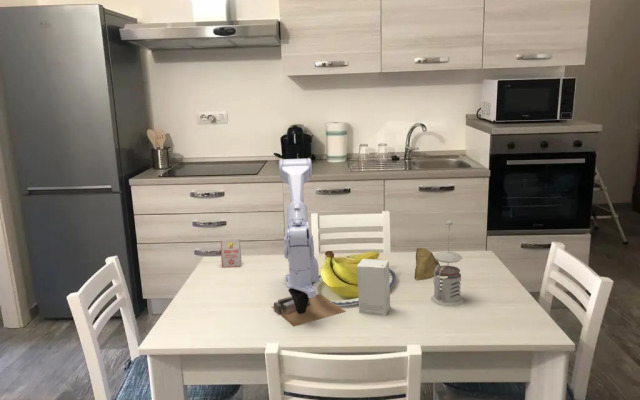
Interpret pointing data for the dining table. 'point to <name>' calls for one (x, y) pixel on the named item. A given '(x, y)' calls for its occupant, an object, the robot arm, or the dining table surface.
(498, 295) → the dining table surface
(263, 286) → the dining table surface
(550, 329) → the dining table surface
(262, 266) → the dining table surface
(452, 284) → the french press
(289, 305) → the swing bar
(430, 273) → the rock
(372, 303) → the skincare box
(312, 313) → the lock board
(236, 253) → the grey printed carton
